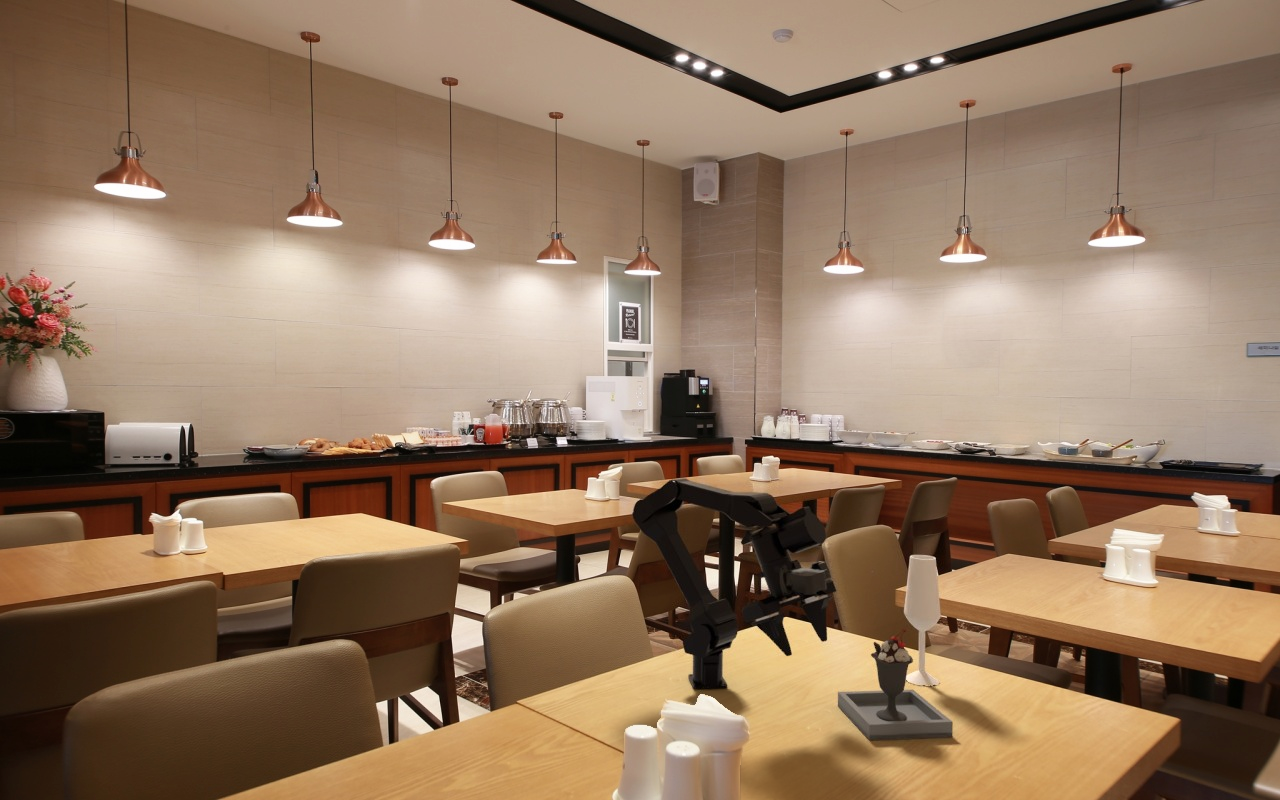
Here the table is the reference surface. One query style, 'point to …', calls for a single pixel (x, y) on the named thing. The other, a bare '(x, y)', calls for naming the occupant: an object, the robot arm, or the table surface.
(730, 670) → the table surface
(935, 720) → the tray
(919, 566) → the champagne flute
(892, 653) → the sundae
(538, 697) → the table surface
